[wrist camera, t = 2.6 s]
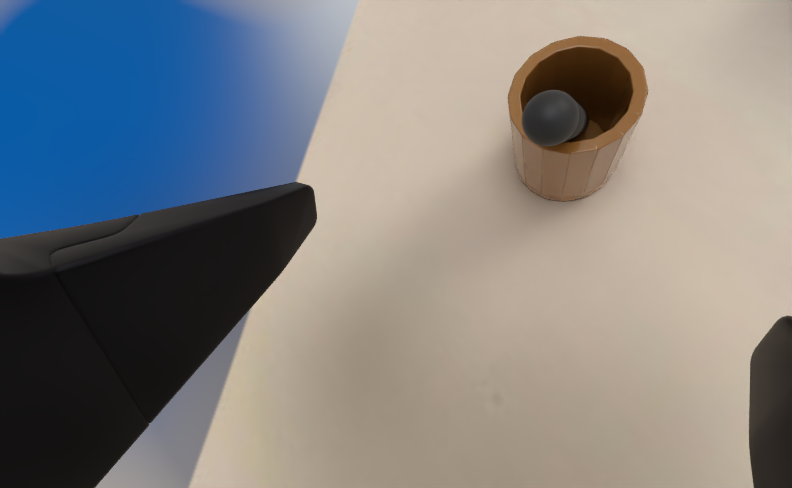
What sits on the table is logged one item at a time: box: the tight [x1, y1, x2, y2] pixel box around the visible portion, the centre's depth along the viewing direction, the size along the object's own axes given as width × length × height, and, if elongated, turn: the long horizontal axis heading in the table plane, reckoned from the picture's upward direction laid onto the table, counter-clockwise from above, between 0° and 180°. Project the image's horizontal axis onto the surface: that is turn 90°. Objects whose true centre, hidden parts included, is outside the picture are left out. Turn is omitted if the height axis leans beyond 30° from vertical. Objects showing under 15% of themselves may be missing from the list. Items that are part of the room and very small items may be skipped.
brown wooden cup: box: [508, 36, 648, 201], centre depth 17 cm, size 4×4×6 cm
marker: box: [522, 90, 589, 146], centre depth 14 cm, size 6×1×10 cm, turn 160°
